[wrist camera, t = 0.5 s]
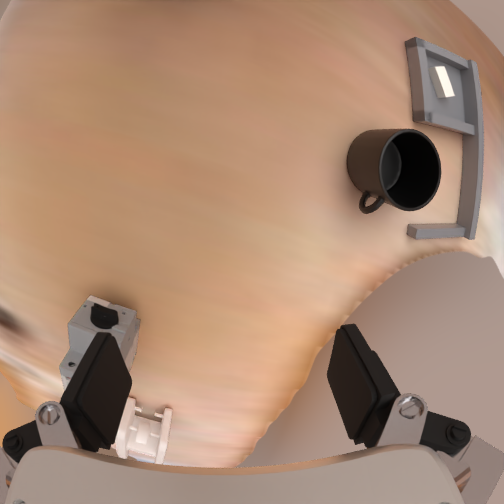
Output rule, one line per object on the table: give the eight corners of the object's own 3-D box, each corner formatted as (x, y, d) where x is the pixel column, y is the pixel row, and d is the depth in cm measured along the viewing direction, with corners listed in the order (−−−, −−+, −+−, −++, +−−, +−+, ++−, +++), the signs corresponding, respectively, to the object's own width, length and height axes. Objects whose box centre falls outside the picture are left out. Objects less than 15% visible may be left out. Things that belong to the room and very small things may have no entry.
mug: (322, 184, 34) (349, 196, 26) (369, 116, 31) (406, 111, 23) (369, 222, 37) (403, 244, 28) (412, 159, 33) (451, 167, 25)
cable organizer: (166, 433, 54) (161, 471, 43) (125, 422, 52) (116, 459, 41) (174, 403, 49) (167, 449, 38) (126, 389, 47) (112, 433, 36)
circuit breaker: (145, 287, 38) (110, 355, 24) (136, 353, 43) (113, 419, 29) (101, 273, 37) (53, 331, 23) (98, 340, 41) (67, 400, 28)
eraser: (427, 68, 27) (434, 66, 25) (436, 68, 27) (444, 66, 25) (437, 98, 29) (445, 97, 27) (446, 96, 29) (454, 95, 27)
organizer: (404, 41, 26) (419, 35, 22) (461, 65, 27) (476, 62, 23) (406, 234, 38) (421, 242, 34) (460, 231, 38) (474, 239, 35)
